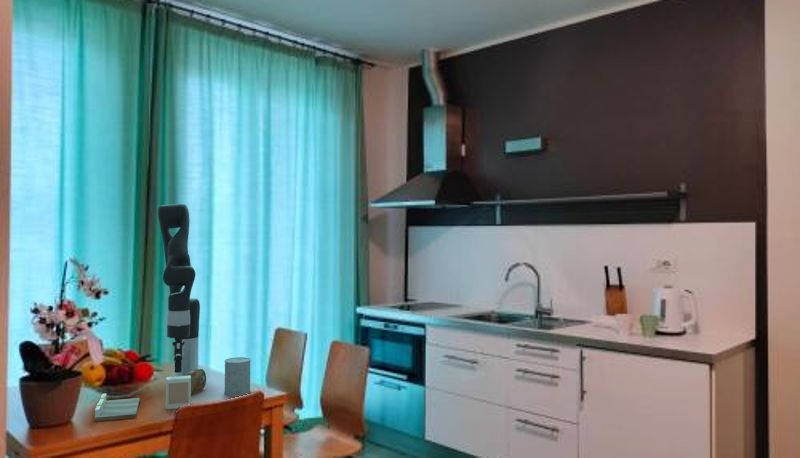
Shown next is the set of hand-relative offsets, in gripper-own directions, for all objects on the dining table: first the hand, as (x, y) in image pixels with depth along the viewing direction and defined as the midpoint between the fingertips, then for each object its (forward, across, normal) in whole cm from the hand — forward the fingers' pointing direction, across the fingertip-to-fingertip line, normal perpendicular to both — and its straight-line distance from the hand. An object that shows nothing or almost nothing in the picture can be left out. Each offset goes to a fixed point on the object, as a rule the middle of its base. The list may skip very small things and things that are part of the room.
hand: (178, 369), depth 206 cm
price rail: (+12, -1, -24) cm, 27 cm away
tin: (+13, -16, +5) cm, 21 cm away
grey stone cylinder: (+13, -12, +21) cm, 28 cm away
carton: (+13, 0, 0) cm, 13 cm away
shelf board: (+13, -1, -19) cm, 23 cm away
